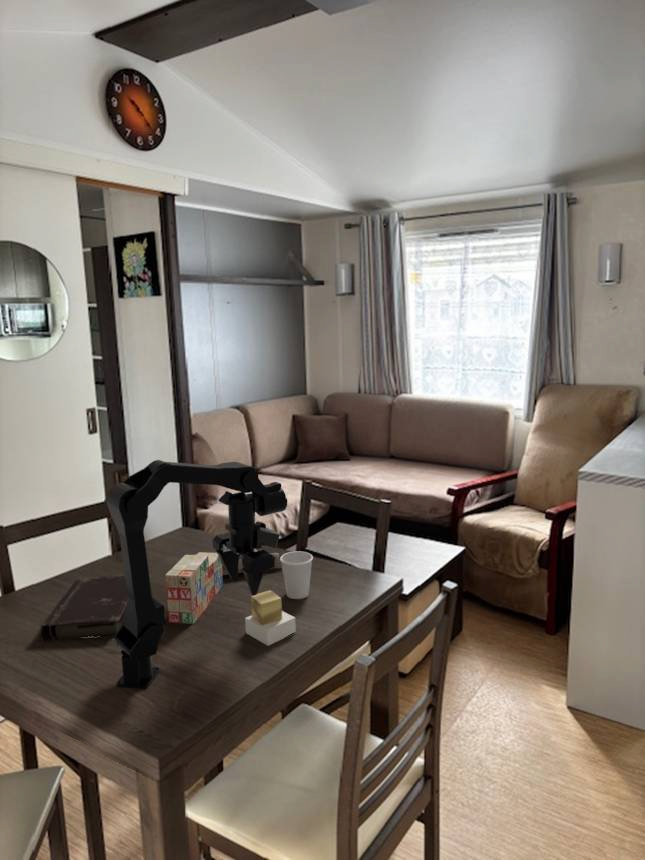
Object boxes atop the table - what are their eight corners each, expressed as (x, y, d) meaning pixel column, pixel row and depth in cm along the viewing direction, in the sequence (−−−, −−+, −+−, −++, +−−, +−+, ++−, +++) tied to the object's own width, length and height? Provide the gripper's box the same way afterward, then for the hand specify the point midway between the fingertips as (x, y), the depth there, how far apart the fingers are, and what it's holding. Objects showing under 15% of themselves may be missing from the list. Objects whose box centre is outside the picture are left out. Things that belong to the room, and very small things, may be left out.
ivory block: (295, 633, 144) (295, 617, 143) (267, 647, 139) (267, 630, 138) (273, 622, 150) (272, 606, 149) (246, 634, 144) (245, 617, 144)
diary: (39, 644, 143) (37, 624, 142) (75, 595, 168) (73, 577, 167) (124, 639, 144) (121, 618, 143) (147, 590, 169) (145, 572, 168)
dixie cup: (317, 588, 166) (316, 552, 164) (308, 603, 158) (307, 565, 156) (287, 585, 168) (286, 549, 166) (276, 599, 160) (275, 562, 158)
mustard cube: (282, 618, 143) (281, 598, 142) (262, 625, 140) (261, 604, 139) (271, 610, 147) (270, 590, 146) (252, 616, 144) (250, 595, 143)
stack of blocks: (201, 584, 171) (198, 540, 168) (223, 585, 170) (221, 541, 167) (168, 623, 150) (164, 574, 148) (193, 625, 149) (190, 575, 147)
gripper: (296, 524, 135) (297, 593, 138) (253, 503, 150) (255, 566, 153) (250, 534, 129) (252, 607, 132) (210, 512, 144) (213, 577, 147)
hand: (244, 587), depth 141 cm, fingers open, 9 cm apart
